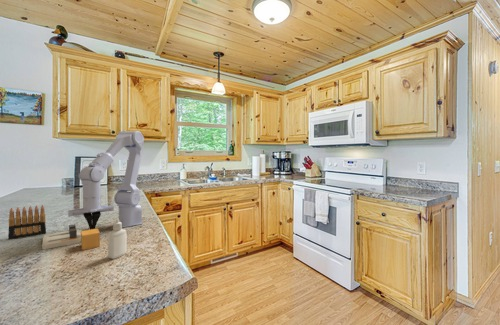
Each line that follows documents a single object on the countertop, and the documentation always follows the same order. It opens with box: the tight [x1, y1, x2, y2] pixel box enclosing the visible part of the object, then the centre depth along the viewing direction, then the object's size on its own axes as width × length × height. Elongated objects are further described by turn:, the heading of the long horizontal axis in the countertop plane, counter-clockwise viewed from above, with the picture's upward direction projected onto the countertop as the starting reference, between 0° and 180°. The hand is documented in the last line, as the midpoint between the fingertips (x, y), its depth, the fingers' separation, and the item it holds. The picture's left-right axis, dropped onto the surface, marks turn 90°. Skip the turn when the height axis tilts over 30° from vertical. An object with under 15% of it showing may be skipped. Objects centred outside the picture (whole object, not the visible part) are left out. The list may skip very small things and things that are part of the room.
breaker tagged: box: [68, 227, 78, 239], centre depth 85 cm, size 2×3×3 cm, turn 40°
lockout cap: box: [80, 228, 101, 251], centre depth 81 cm, size 5×6×5 cm
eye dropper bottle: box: [107, 218, 128, 260], centre depth 73 cm, size 4×6×12 cm
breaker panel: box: [41, 229, 81, 251], centre depth 86 cm, size 11×13×2 cm
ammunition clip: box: [7, 204, 47, 241], centre depth 90 cm, size 11×2×12 cm, turn 129°
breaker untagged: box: [68, 224, 77, 234], centre depth 90 cm, size 2×3×3 cm, turn 40°
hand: (92, 231), depth 89 cm, fingers closed
